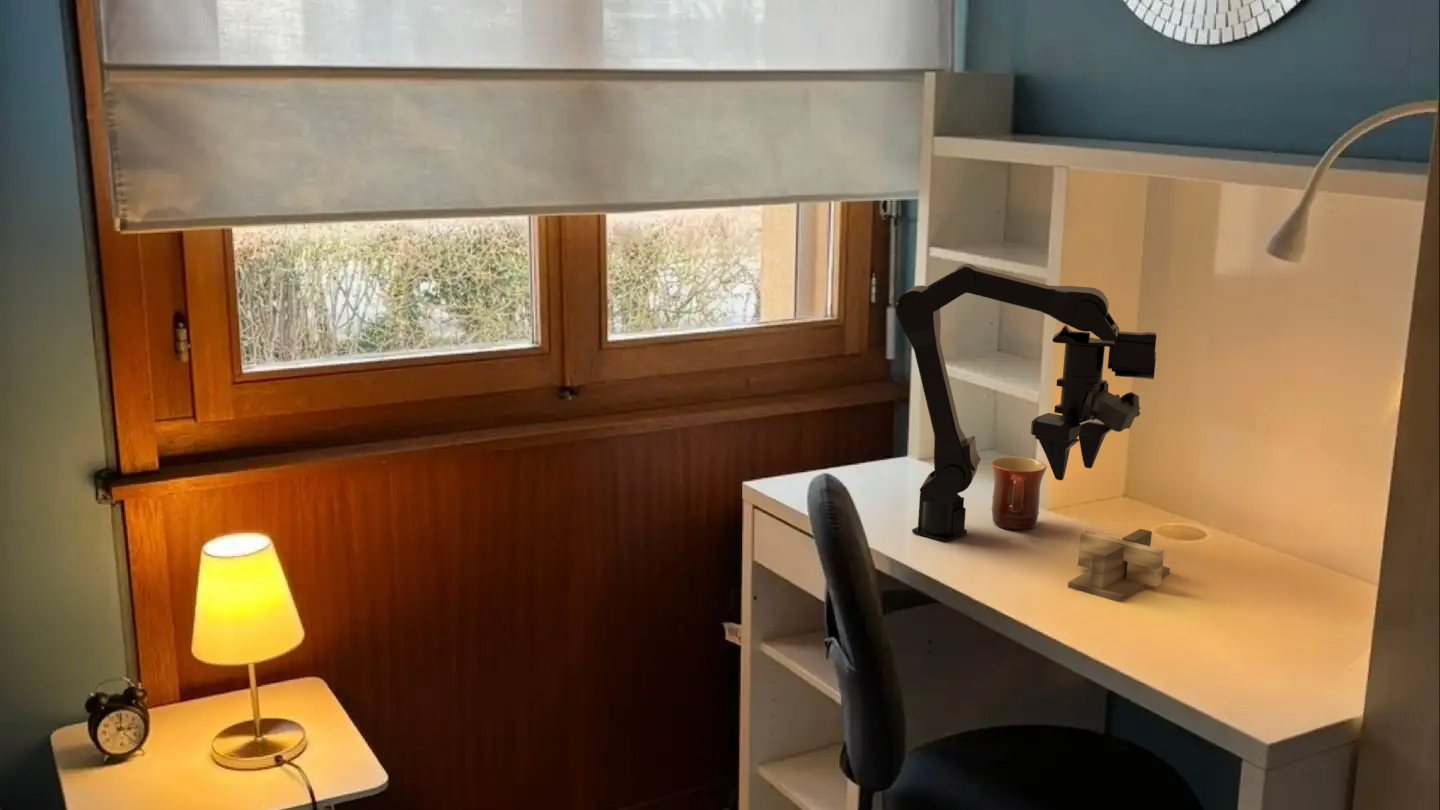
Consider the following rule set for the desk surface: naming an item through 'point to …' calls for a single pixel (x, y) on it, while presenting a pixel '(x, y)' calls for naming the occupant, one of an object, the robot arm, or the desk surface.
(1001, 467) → the mug
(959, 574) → the desk surface
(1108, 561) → the joint base
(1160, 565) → the oak plate
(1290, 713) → the desk surface
